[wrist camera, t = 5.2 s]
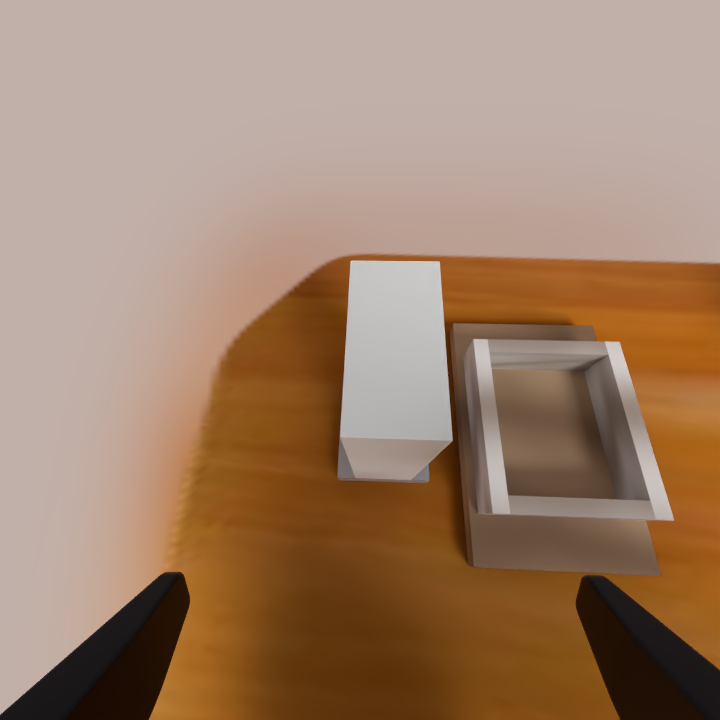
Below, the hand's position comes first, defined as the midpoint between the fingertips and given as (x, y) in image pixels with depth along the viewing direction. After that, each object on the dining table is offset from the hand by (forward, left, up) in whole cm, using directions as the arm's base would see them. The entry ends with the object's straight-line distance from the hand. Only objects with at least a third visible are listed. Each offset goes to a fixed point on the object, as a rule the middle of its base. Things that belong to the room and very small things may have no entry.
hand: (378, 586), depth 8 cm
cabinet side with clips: (+9, -7, -12) cm, 17 cm away
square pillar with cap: (+6, +2, -12) cm, 14 cm away
